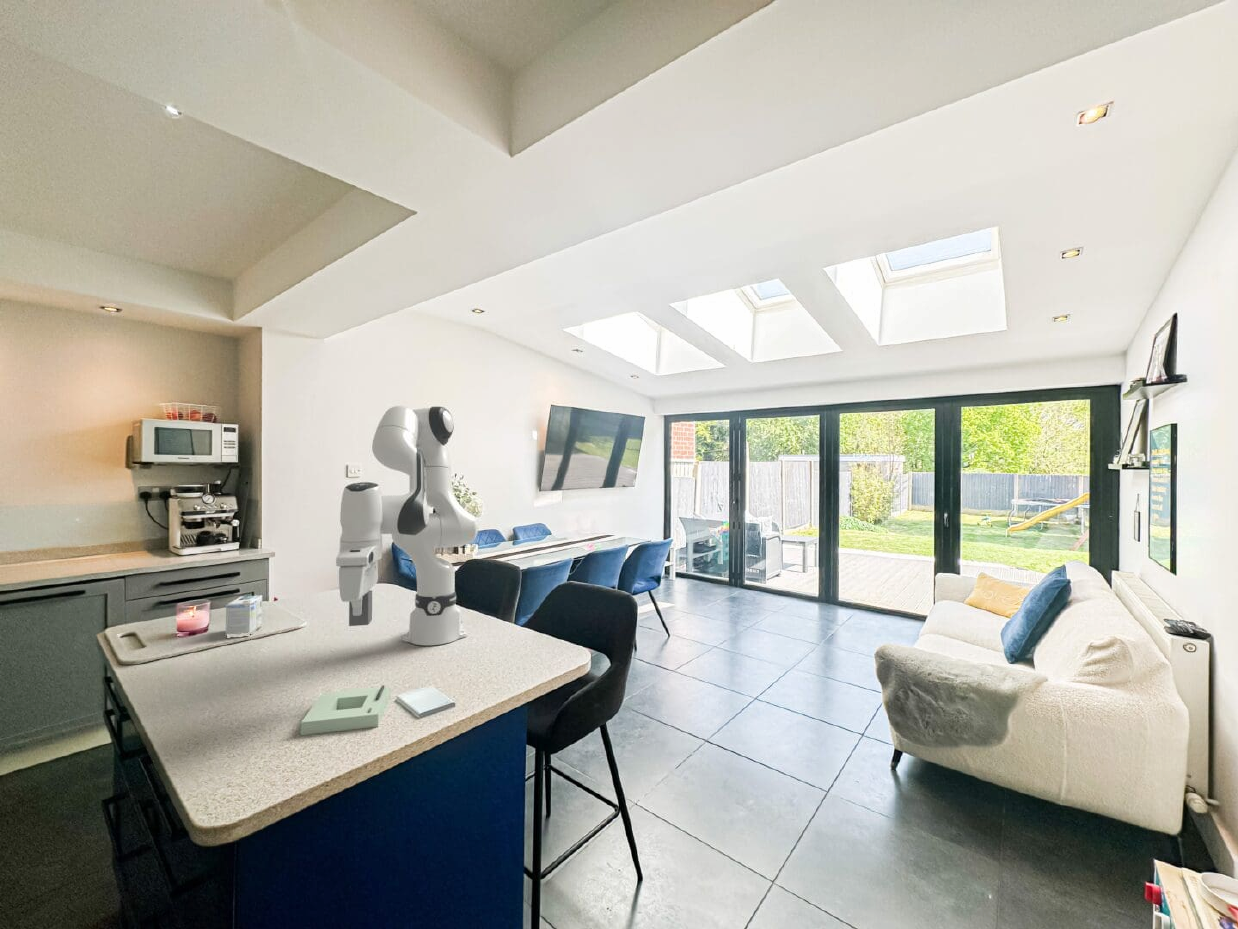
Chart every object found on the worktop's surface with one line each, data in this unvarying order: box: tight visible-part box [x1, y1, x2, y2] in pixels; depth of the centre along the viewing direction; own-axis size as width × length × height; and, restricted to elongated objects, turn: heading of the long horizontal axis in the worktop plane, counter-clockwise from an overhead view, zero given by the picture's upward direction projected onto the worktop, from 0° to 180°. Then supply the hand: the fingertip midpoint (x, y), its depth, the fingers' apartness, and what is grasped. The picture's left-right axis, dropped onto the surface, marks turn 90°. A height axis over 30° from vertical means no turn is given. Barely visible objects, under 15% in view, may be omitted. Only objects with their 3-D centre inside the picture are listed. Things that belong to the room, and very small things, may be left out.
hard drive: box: [395, 685, 456, 719], centre depth 114 cm, size 2×8×12 cm
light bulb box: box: [225, 595, 263, 636], centre depth 164 cm, size 11×7×11 cm, turn 17°
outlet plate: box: [300, 685, 392, 736], centre depth 109 cm, size 14×14×3 cm
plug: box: [348, 590, 373, 627], centre depth 119 cm, size 4×4×7 cm
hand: (360, 611), depth 119 cm, fingers closed on plug, 4 cm apart
